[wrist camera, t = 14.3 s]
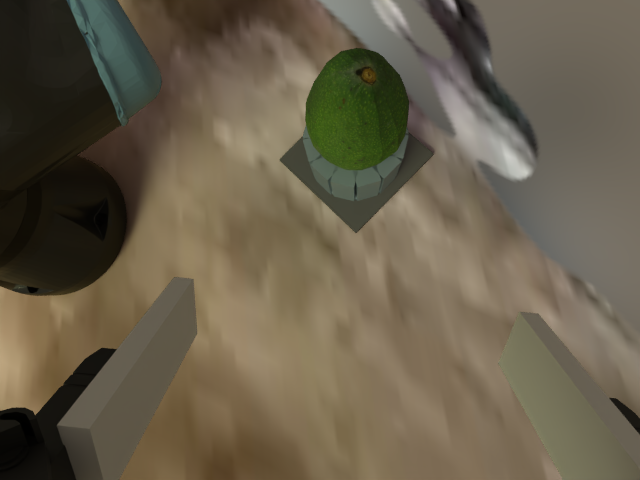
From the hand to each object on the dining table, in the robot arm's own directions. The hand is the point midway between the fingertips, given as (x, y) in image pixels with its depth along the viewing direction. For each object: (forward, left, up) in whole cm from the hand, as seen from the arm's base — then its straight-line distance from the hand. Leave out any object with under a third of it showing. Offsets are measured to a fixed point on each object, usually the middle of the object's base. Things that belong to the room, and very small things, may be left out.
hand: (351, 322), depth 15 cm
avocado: (-10, +11, -17) cm, 22 cm away
